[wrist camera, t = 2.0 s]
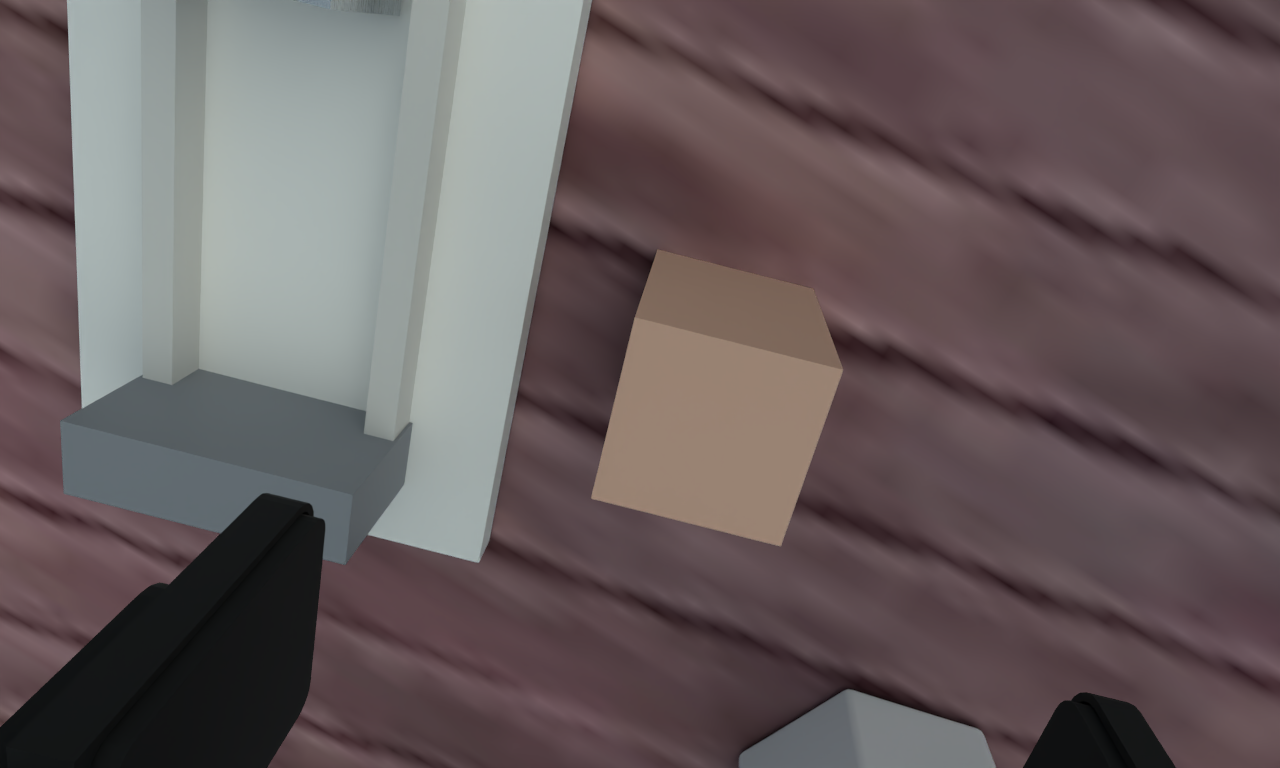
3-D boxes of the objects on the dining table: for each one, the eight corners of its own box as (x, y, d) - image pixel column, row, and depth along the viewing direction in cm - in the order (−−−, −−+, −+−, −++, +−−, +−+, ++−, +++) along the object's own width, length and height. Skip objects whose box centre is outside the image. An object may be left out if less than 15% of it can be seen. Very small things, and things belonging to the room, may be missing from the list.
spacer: (813, 288, 22) (843, 369, 16) (767, 428, 23) (780, 546, 18) (657, 249, 22) (634, 316, 16) (622, 392, 23) (591, 498, 18)
